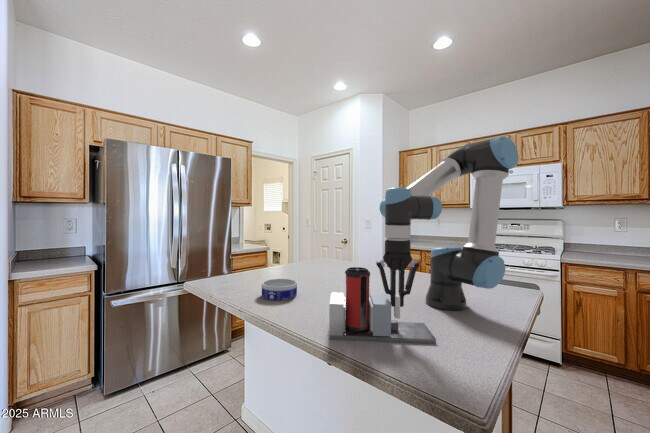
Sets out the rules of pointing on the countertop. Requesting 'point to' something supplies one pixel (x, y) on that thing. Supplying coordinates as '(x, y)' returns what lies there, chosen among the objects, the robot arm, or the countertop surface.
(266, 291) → the dog bowl
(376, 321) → the slide jaw
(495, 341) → the countertop surface
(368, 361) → the countertop surface
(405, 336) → the vise bed
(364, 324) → the speaker
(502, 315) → the countertop surface
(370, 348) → the countertop surface
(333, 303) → the fixed jaw
